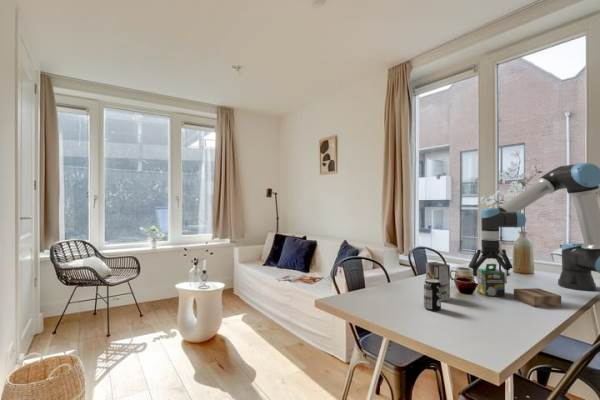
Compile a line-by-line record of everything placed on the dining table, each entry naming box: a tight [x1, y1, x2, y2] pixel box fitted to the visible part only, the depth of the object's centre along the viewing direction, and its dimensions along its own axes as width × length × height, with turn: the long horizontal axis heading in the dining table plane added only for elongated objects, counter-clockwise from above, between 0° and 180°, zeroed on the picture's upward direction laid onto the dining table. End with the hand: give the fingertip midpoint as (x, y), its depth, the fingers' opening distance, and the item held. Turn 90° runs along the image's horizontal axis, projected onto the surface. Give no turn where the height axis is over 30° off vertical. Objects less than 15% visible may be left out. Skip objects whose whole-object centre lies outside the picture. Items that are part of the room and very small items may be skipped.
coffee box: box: [425, 261, 451, 302], centre depth 147 cm, size 9×6×16 cm
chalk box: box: [476, 263, 506, 297], centre depth 154 cm, size 9×9×15 cm
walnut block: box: [513, 287, 562, 308], centre depth 140 cm, size 12×12×5 cm
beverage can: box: [423, 278, 442, 312], centre depth 132 cm, size 7×7×12 cm
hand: (490, 282), depth 154 cm, fingers open, 13 cm apart
